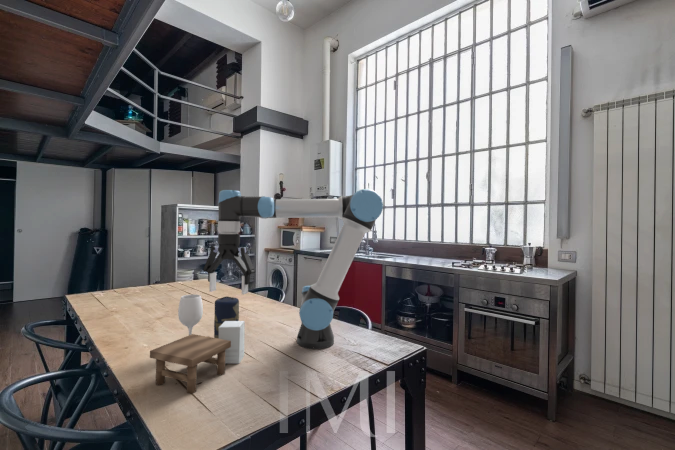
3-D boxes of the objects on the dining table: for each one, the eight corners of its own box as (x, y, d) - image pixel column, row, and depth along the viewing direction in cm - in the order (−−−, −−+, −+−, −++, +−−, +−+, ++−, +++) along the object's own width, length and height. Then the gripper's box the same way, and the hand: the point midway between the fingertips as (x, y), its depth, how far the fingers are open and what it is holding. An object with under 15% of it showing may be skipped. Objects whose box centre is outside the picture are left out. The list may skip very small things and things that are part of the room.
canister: (230, 346, 125) (231, 299, 125) (208, 343, 127) (209, 298, 127) (242, 337, 135) (243, 294, 135) (222, 335, 136) (223, 293, 137)
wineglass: (195, 347, 123) (196, 292, 123) (207, 353, 118) (208, 296, 118) (172, 354, 116) (173, 296, 116) (183, 360, 111) (184, 300, 111)
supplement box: (244, 355, 117) (245, 320, 117) (239, 364, 109) (240, 326, 109) (224, 355, 116) (225, 320, 116) (217, 364, 109) (218, 326, 109)
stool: (230, 371, 103) (230, 340, 103) (191, 396, 88) (192, 359, 88) (191, 363, 109) (192, 334, 109) (149, 385, 94) (149, 350, 94)
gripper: (265, 233, 115) (264, 292, 115) (207, 232, 123) (207, 287, 123) (253, 234, 108) (252, 297, 108) (193, 232, 116) (192, 291, 116)
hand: (228, 292), depth 116 cm, fingers open, 13 cm apart
